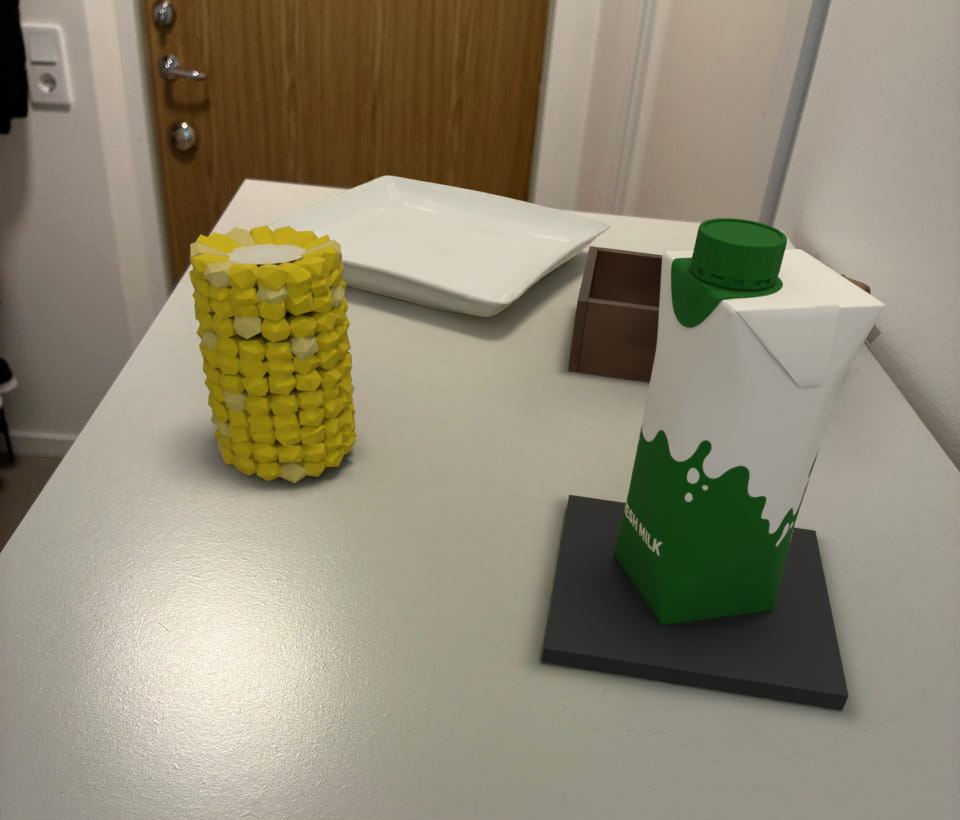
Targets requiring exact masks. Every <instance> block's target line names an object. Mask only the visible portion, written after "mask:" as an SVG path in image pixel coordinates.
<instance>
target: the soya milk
mask: <svg viewBox="0 0 960 820" xmlns="http://www.w3.org/2000/svg"><path fill="white" fill-rule="evenodd" d="M787 243H788V237H787V235H786V234H785V233H784V232H783V231H781V230H780V229H778V228H776V227H773V226H772V225H768V224H765V223H762V222H759V221H755V220H750V219H742V218H734V217H732V218H731V217H721V218H720V217H719V218H710V219H706V220H704V221H702V222H701V223H700V224H699V225H698V228H697V233H696V238H695V242H694V246H693V249H692V250H691V249H690V250H687V249H686V250H671V251H664V252H663V253H662V254H661V255H662V270H661V287H660V304H659V321H658V336H657V346H656V353H655V359H654V364H653V369H652V375H651V380H650V382H649V386H648V391H647V396H646V400H645V406H644V410H643V411H644V412H643V417H642V421H641V426H640V431H639V436H638V443H637V447H636V450H635V451H636V452H635V456H634V461H633V468H632V472H631V477H630V481H629V487H628V493H627V497H626V501H625V503H626V505H625V509H624V513H623V517H622V521H621V526H620V530H619V534H618V538H617V542H616V547H615V551H614V556H615V557H616V559H617V560H618V562H619V563H620V565H621V566H622V568H623V569H624V571H625V572H626V574H627V575H628V576H629V578H630V579H631V581H632V582H633V584H634V585H635V587H636V588H637V590H638V591H639V593H640V594H641V596H642V597H643V599H644V600H645V602H646V603H647V605H648V606H649V608H650V609H651V611H652V612H653V614H654V615H655V616H656V618H657V619H658V621H659V622H660V624H661V625H668V624H675V623H683V622H690V621H697V620H705V619H712V618H719V617H727V616H734V615H741V614H748V613H756V612H763V611H770V610H774V606H775V602H776V598H777V594H778V590H779V586H780V582H781V578H782V574H783V570H784V566H785V561H786V557H787V553H788V549H789V545H790V541H791V537H792V533H793V529H794V527H795V525H796V522H797V518H798V516H799V513H800V509H801V506H802V503H803V500H804V497H805V494H806V491H807V488H808V485H809V482H810V478H811V476H812V473H813V470H814V467H815V464H816V461H817V458H818V454H819V451H820V448H821V447H822V442H823V439H824V436H825V434H826V430H827V427H828V424H829V422H830V419H831V417H832V416H831V415H832V412H833V409H834V406H835V404H836V400H837V397H838V394H839V392H840V388H841V386H842V383H843V381H844V378H845V376H846V374H847V372H848V370H849V368H850V367H851V366H852V364H853V362H854V359H856V356H857V355H858V353H859V351H860V349H861V348H862V346H863V345H864V343H865V341H866V339H867V337H868V336H869V335H870V333H871V331H872V329H873V327H874V326H875V324H876V323H877V321H878V320H879V317H880V316H881V314H882V313H883V311H884V309H885V307H886V304H885V303H884V302H882V301H881V300H879V299H877V298H876V297H875V296H873V295H872V294H868V293H867V292H865V291H864V290H862V289H861V288H859V287H858V286H856V285H855V284H853V283H852V282H850V281H849V280H847V279H846V278H844V277H843V276H841V275H840V273H839V272H837V271H835V270H834V269H832V268H830V267H829V266H828V265H826V264H824V263H823V262H821V261H820V260H819V259H817V258H815V257H814V256H812V255H810V254H809V253H807V252H806V251H805V250H803V249H802V248H801V249H800V248H795V249H793V248H791V249H790V248H789V249H786V248H787Z"/></svg>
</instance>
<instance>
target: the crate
mask: <svg viewBox="0 0 960 820" xmlns="http://www.w3.org/2000/svg"><path fill="white" fill-rule="evenodd" d="M662 255H663V254H656V253H649V252H640V251H633V250H625V249H618V248H610V247H609V248H608V247H601V246H592V245H590V246H589V247H588V251H587V256H586V261H585V265H584V268H583V274H582V278H581V284H580V288H579V293H578V297H577V300H576V301H577V302H576V308H575V309H576V310H575V315H574V316H575V317H574V325H573V331H572V336H571V337H572V338H571V345H570V352H569V358H568V367H567V368H568V369H567V371H568V372H574V373H579V374H588V375H594V376H602V377H608V378H609V377H610V378H616V379H617V378H618V379H624V380H630V381H631V380H632V381H638V382H645V383H650V380H651V375H652V369H653V364H654V359H655V353H656V346H657V336H658V321H659V304H660V287H661V270H662Z"/></svg>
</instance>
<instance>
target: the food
mask: <svg viewBox="0 0 960 820" xmlns="http://www.w3.org/2000/svg"><path fill="white" fill-rule="evenodd" d="M268 226H269V225H266V224H265V225H262V226H257V227H253V228H250V231H249V230H247V229H245V228H240V227H237V226H234V227H233V228H232V229H231V230H229V231H228V232H227V233H226V234H222V233H218V232H216V231H215V232H212V233H211V234H210V235H209V236H206V235H203V234H199V236H198V237H197V239H196V240H195V241H194V242H192V243H190V245H189V246H190V247H189V264H191V265H192V270H190V271H189V272H188V274H189V278H190V283H191V284H192V287H193V289H194V291H193V293H191V294H192V295H191V296H192V298H193V299H194V300H193V301H194V302H193V303H194V304H193V306H194V316H195V318H194V319H195V320H196V321H198V323H199V325H198V328H197V330H196V335H198V337H199V339H200V342H199V345H198V347H199V351H200V353H201V356H202V359H203V360H202V372H203V373H204V375H205V376H206V377H205V380H204V385H205V386H206V388H207V389H208V391H209V393H208V398H207V399H208V400H207V405H208V406H209V407H210V408H211V412H212V415H211V419H210V422H211V423H212V424H214V426H215V427H216V428H215V430H214V432H213V433H214V436H215V439H216V441H217V450H218V451H219V452H220V455H221V457H222V458H223V461H224V462H225V464H226V465H227V466H233V467H235V469H236V470H237V471H238V472H239V473H242V474H243V475H246V476H251V475H253V474H255V473H256V476H257V477H259V478H261V479H263V480H265V481H267V482H270V481H273V480H276V479H278V478H281V479H282V480H285V481H287V482H289V483H291V484H293V485H295V484H297V483H298V482H299V481H301V480H302V479H304V478H305V477H306V476H309V477H316V478H319V477H320V476H321V475H322V474H323V472H324V471H325V469H326V468H334V467H340V465H341V462H342V460H343V458H344V456H345V455H348V453H349V452H351V450H352V449H353V447H354V445H355V443H356V441H357V439H356V437H357V433H356V431H355V430H356V429H357V427H356V419H355V414H356V408H355V404H354V397H353V394H354V391H355V389H356V388H355V386H354V384H353V378H352V374H351V372H352V370H353V362H352V361H353V359H352V358H353V357H352V356H353V355H352V353H351V352H350V350H351V349H352V347H351V342H350V338H349V334H348V330H349V328H350V325H351V322H350V319H349V318H348V317H347V312H348V310H349V305H348V302H347V300H346V297H345V292H346V288H347V286H346V284H347V283H346V282H344V281H343V267H344V265H343V264H342V262H341V260H342V252H341V245H340V244H339V243H338V242H336V241H335V240H334V239H333V240H330V238H329V236H328V234H327V235H325V236H323V237H320V238H318V237H317V236H316V235H315V233H314V232H313V231H298V232H297V231H296V230H294V229H293V228H291V227H290V226H286V227H282V228H278V229H274V232H272V230H271V229H270V228H269V227H268Z"/></svg>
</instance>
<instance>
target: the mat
mask: <svg viewBox="0 0 960 820" xmlns="http://www.w3.org/2000/svg"><path fill="white" fill-rule="evenodd" d="M566 504H567V505H566V510H565V517H564V522H563V528H562V534H561V535H562V536H561V539H560V547H559V551H558V557H557V564H556V570H555V576H554V582H553V588H552V594H551V600H550V606H549V612H548V619H547V623H546V630H545V636H544V642H543V648H542V654H541V662H542V663H547V664H554V665H560V666H566V667H571V668H572V667H573V668H578V669H585V670H590V671H598V672H604V673H610V674H615V675H623V676H629V677H634V678H635V677H636V678H640V679H641V678H642V679H647V680H654V681H661V682H667V683H674V684H679V685H686V686H693V687H698V688H705V689H712V690H717V691H723V692H731V693H735V694H736V693H737V694H744V695H749V696H755V697H761V698H768V699H774V700H780V701H787V702H793V703H798V704H799V703H800V704H805V705H812V706H818V707H819V706H820V707H824V708H829V709H830V708H831V709H837V710H844V708H845V706H846V703H847V701H848V699H849V692H848V686H847V681H846V675H845V671H844V667H843V662H842V656H841V651H840V646H839V642H838V637H837V631H836V626H835V622H834V617H833V612H832V607H831V601H830V597H829V592H828V587H827V582H826V581H827V580H826V576H825V572H824V571H825V570H824V566H823V562H822V556H821V551H820V546H819V541H818V536H817V531H816V530H814V529H807V528H800V527H795V526H794V529H793V533H792V537H791V541H790V545H789V549H788V553H787V557H786V561H785V566H784V570H783V574H782V578H781V582H780V586H779V590H778V594H777V598H776V602H775V606H774V610H770V611H763V612H756V613H748V614H741V615H734V616H727V617H719V618H712V619H705V620H697V621H690V622H683V623H675V624H668V625H661V624H660V622H659V621H658V619H657V618H656V616H655V615H654V614H653V612H652V611H651V609H650V608H649V606H648V605H647V603H646V602H645V600H644V599H643V597H642V596H641V594H640V593H639V591H638V590H637V588H636V587H635V585H634V584H633V582H632V581H631V579H630V578H629V576H628V575H627V574H626V572H625V571H624V569H623V568H622V566H621V565H620V563H619V562H618V560H617V559H616V557H615V556H614V551H615V547H616V542H617V538H618V534H619V530H620V526H621V521H622V517H623V513H624V509H625V505H626V502H622V501H615V500H610V499H601V498H595V497H588V496H582V495H575V494H568V500H567V503H566Z"/></svg>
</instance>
